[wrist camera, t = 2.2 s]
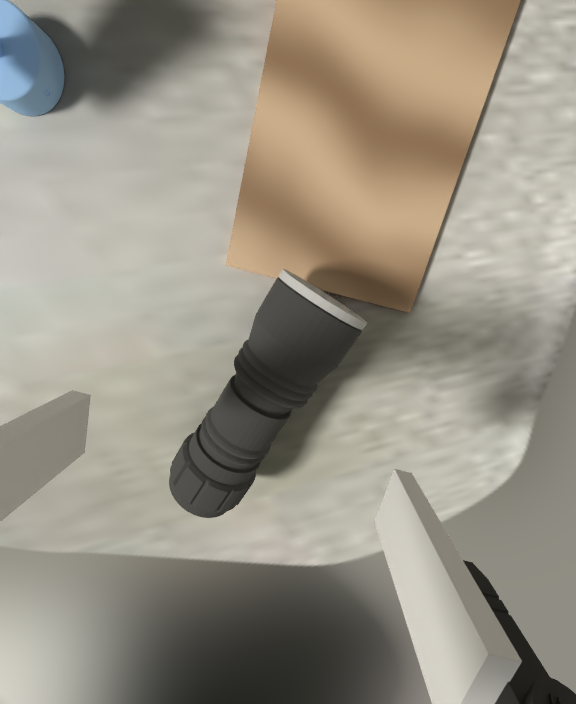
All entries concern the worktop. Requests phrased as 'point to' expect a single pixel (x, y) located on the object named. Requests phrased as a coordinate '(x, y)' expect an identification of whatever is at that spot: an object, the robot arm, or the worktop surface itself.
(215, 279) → the worktop surface
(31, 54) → the spotlight
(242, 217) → the mat
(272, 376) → the flashlight
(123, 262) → the worktop surface
